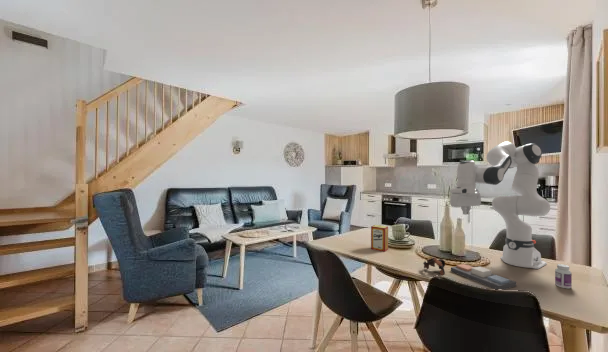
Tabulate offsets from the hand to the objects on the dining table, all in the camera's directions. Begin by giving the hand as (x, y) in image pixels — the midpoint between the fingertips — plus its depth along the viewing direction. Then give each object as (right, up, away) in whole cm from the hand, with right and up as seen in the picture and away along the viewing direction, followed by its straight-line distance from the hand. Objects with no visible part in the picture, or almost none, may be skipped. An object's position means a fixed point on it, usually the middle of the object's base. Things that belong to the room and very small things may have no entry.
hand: (465, 214), depth 143 cm
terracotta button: (-5, -29, -8) cm, 31 cm away
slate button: (+1, -29, -23) cm, 37 cm away
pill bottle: (+29, -30, -25) cm, 48 cm away
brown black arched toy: (-20, -30, -7) cm, 37 cm away
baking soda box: (-39, -29, +32) cm, 58 cm away
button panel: (-2, -29, -16) cm, 33 cm away
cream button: (-2, -28, -16) cm, 32 cm away
